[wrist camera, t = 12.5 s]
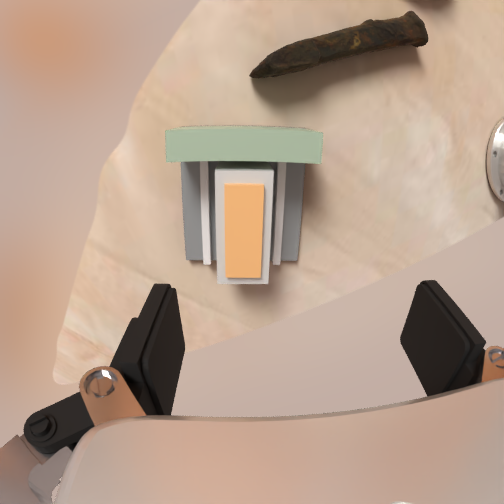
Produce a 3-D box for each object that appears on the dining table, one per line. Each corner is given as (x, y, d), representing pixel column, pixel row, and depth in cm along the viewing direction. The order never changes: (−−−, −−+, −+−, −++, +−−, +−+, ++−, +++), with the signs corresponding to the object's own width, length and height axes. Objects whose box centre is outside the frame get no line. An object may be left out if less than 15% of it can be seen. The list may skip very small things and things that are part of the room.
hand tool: (402, 16, 22) (423, 6, 18) (415, 48, 24) (437, 42, 20) (239, 53, 25) (239, 43, 21) (255, 88, 27) (257, 83, 22)
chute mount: (305, 128, 28) (323, 132, 22) (295, 256, 34) (307, 290, 28) (182, 126, 28) (165, 130, 21) (187, 255, 34) (176, 290, 27)
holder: (267, 159, 28) (274, 172, 22) (263, 254, 33) (268, 287, 27) (220, 159, 28) (214, 172, 22) (221, 254, 33) (217, 287, 27)
